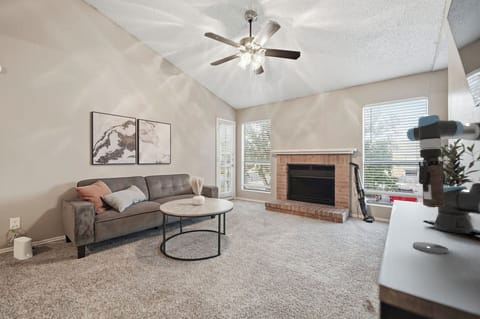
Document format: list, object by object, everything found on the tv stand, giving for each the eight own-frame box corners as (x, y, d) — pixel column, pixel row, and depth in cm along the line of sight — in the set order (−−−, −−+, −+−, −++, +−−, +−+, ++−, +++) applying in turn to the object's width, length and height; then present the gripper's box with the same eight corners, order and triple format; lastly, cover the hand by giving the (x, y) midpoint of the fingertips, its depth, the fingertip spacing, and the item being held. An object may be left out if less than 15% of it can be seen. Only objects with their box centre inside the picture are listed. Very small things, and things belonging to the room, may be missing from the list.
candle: (449, 209, 96) (446, 163, 97) (430, 208, 97) (427, 163, 98) (437, 206, 103) (434, 163, 104) (419, 206, 105) (417, 164, 106)
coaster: (423, 243, 96) (423, 240, 96) (455, 251, 86) (455, 249, 86) (406, 246, 93) (406, 243, 93) (437, 255, 82) (437, 253, 82)
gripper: (434, 149, 109) (437, 196, 107) (406, 149, 102) (409, 198, 101) (453, 148, 102) (457, 198, 100) (425, 147, 95) (428, 200, 94)
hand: (433, 198), depth 101 cm, fingers closed on candle, 7 cm apart
